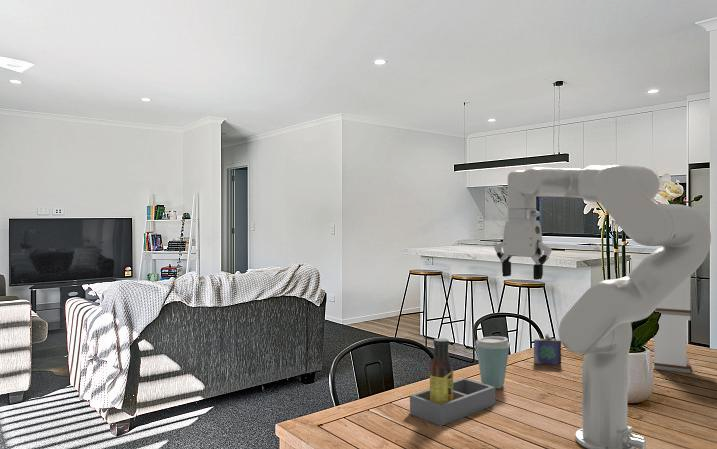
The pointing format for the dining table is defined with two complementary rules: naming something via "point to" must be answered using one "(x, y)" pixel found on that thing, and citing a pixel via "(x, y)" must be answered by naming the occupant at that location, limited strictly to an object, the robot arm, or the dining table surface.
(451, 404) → the dock
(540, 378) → the dining table surface
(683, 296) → the white square tower
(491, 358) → the disposable coffee cup
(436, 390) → the sauce bottle
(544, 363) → the flask
